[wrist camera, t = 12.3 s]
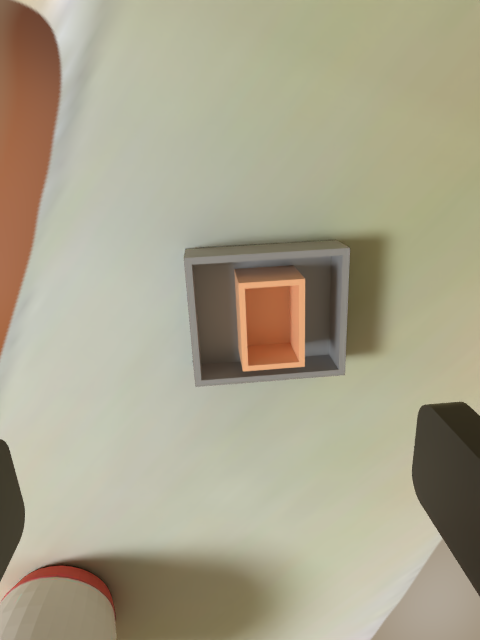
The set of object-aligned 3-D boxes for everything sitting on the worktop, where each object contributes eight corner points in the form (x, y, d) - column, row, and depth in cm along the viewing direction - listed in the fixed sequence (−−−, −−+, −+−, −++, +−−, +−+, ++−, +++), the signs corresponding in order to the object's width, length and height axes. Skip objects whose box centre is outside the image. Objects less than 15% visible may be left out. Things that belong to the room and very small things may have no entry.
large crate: (185, 248, 40) (183, 258, 37) (336, 239, 41) (350, 247, 37) (195, 367, 44) (195, 386, 41) (333, 357, 45) (344, 375, 42)
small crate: (234, 268, 41) (238, 283, 36) (293, 265, 41) (305, 278, 36) (238, 348, 43) (242, 371, 39) (293, 344, 44) (304, 366, 39)
